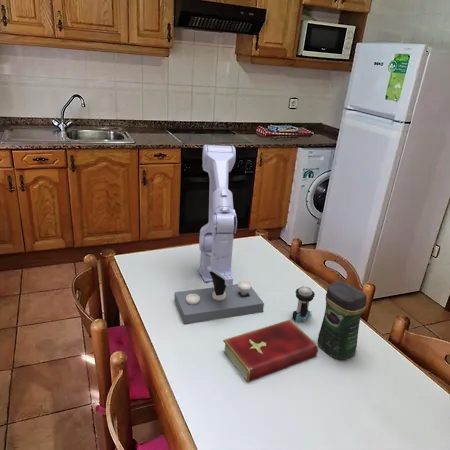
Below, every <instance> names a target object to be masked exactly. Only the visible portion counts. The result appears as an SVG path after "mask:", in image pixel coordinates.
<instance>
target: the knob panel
mask: <svg viewBox="0 0 450 450" xmlns="http://www.w3.org/2000/svg"><path fill="white" fill-rule="evenodd" d="M214 291H215V290H214V286H212V287H205V288H198V289H196V288H195V289H189V290H182V291H174V302H175V306H176V307H177V310H178V313H179V316H180V317H181V319H182V322H183V325H189V324H194V323H200V322H207V321H213V320H221V319H225V318H226V319H227V318H232V317H233V318H234V317H238V316H239V317H240V316H245V315H252V314H257V313H258V314H259V313H263V312H264V307H265V303H264V301H263V300H262V299H261V297H260V295H258V293H257V292H256V291H255V290H254V288H253V287H252V286H251V290H249V291H247V295H242V294H241V290H239V289H238V283H237V284H236V283H235V284H233V285H227V286H226V288H225V291H224V292H225V293H226V298H225V300H223V301H215V300H214V299H213V298H212V293H213V292H214ZM188 294H197V295H199V296H200V302H199V303H198V304H196V305H189V304H188V303H187V302H186V296H187V295H188Z"/></svg>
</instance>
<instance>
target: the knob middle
mask: <svg viewBox="0 0 450 450" xmlns="http://www.w3.org/2000/svg"><path fill="white" fill-rule="evenodd" d="M212 298H213V299H214V300H215V301H223V300H225V298H226V293H225V292H224V294H223V295H218V296H217V295H216V294H215V291H214V292H213V293H212Z"/></svg>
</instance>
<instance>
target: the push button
mask: <svg viewBox="0 0 450 450" xmlns="http://www.w3.org/2000/svg"><path fill="white" fill-rule="evenodd" d="M295 297H296V298H297V300H298V301H297V307H296V310H293V311H292V316H291V318H292V320H293V321H295V322H296V323H298V324H299V323H301V322H306V321H307V320H309V319H310V316H312V315H313V314H312V313H313V311H312V310H309V306H310V302H312V301H314V297H316V294H315V291H313V289H312V288H311V287H309V286H301V287H298V288H297V289H296V290H295Z"/></svg>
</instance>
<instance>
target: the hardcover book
mask: <svg viewBox="0 0 450 450" xmlns="http://www.w3.org/2000/svg"><path fill="white" fill-rule="evenodd" d="M222 342H224V353H225V355H226V356H228V358H229V359H230V361H231V362H232V363H233V365H234V366H236V368H237V369H238V371H239V372H240V373H241V375H243V377H244V378H245V379H246V380H245V381H246V383H249V382H251V381H254V380H257V379H260V378H262V377H265V376H268V375H270V374H272V373H276V372H278V371H281V370H284V369H287V368H288V367H292V366H295V365H297V364H300V363H302V362H305V361H308V360H310V359H313V358H315V357H318V356H317V355H318V353H319V344H318V343H316V342H315V341H314V340H313V339H312V338H311V337H310V336H308V334H307V333H305V332H304V331H303V330H302V329H301V328H300V327H299V326H298V325H296V323H294V322H293V321H292V320H291V319H287V320H284V321H281V322H277V323H273V324H270V325H267V326H264V327H261V328H258V329H257V328H256V329H254V330H251V331H248V332H244V333H241V334H239V335H235V336H231V337H229V338H226V339H223V340H222Z"/></svg>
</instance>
